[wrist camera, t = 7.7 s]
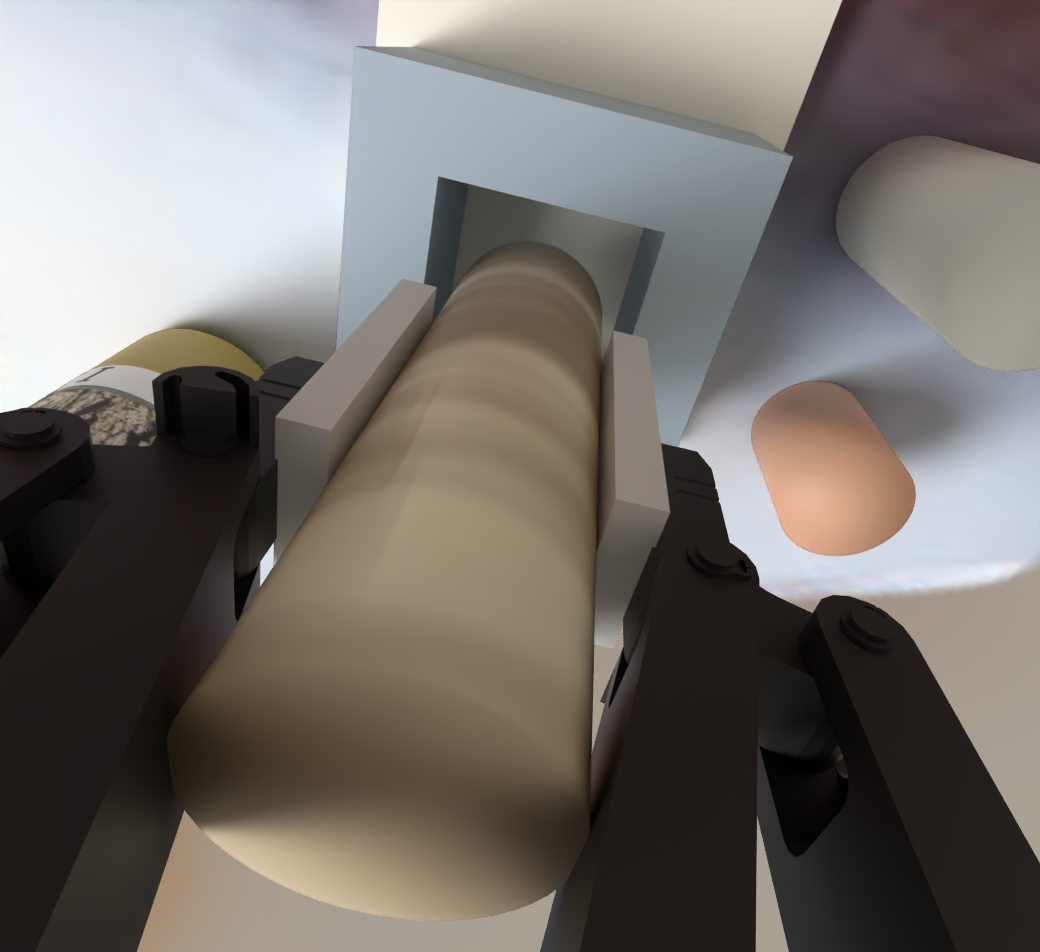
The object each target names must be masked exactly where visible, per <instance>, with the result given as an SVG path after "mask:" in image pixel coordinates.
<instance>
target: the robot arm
mask: <svg viewBox="0 0 1040 952" xmlns="http://www.w3.org/2000/svg"><path fill="white" fill-rule="evenodd" d="M436 289H437V287H434V286H430V285H426V284H422V283H418V282H414V281H410V280H406V279H402V280H401V281H400V282H399V283H398V284H397V285H396V286H395V287H394V289H393V290H392V291H391V292H390V293H389V294H388V295H387V296H386V297H385V298H384V299H383V300H382V302H381V303H380V304H379V305H378V306H377V307H376V308H375V309H374V310H373V311H372V312H371V314H370V315H369V316H368V317H367V318H366V319H365V320H364V321H363V322H362V323H361V324H360V325H359V327H358V328H357V329H356V330H355V331H354V332H353V333H352V334H351V335H350V336H349V337H348V339H347V340H346V341H345V342H344V343H343V344H342V345H341V346H340V347H339V348H338V349H337V350H336V352H335V353H334V354H333V355H332V356H331V357H330V358H329V359H328V360H327V361H326V362H325V363H321V362H317V361H313V360H309V359H305V358H300V357H293V358H290V359H287V360H285V361H282V362H279V363H276V364H274V365H272V366H271V367H270V368H269V369H268V370H267V371H266V372H265V373H264V374H262V375H261V376H260V377H259V380H256V381H254V379H253V378H251V377H249V376H247V375H245V374H243V373H241V372H239V371H236V370H232V369H228V368H224V367H217V366H201V365H199V366H190V367H180V368H177V369H174V370H170V371H167V372H164V373H162V374H161V375H159V376H158V377H156V378H155V379H154V380H152V388H153V398H154V408H155V418H156V428H157V436H156V438H155V439H154V441H153V442H152V443H151V445H150V446H121V445H100V444H93V442H92V436H91V430H90V426H89V425H88V424H87V423H86V421H85V420H84V419H83V418H82V417H80V416H77V415H75V414H72V413H70V412H68V411H62V410H56V409H49V408H38V407H36V408H21V409H18V410H14V411H8V412H3V413H0V952H137V949H138V946H139V943H140V940H141V937H142V934H143V931H144V928H145V925H146V922H147V920H148V916H149V914H150V911H151V908H152V905H153V902H154V899H155V896H156V893H157V890H158V887H159V883H160V881H161V878H162V875H163V872H164V869H165V866H166V863H167V860H168V857H169V854H170V851H171V848H172V845H173V842H174V839H175V836H176V833H177V830H178V827H179V824H180V821H181V818H182V815H183V812H184V810H185V809H184V808H183V806H182V805H181V803H180V802H179V800H178V798H177V797H176V795H175V792H174V790H173V788H172V781H171V773H170V766H169V758H168V750H167V743H166V739H167V735H168V731H169V729H170V727H171V725H172V723H173V721H174V718H175V716H176V715H177V713H178V712H179V710H180V709H181V707H182V706H183V704H184V703H185V701H186V700H187V698H188V697H189V695H190V693H191V692H192V690H193V689H194V687H195V686H196V684H197V683H198V681H199V680H200V678H201V677H202V675H203V674H204V672H205V671H206V669H207V668H208V666H209V664H210V663H211V661H212V660H213V658H214V657H215V655H216V654H217V652H218V651H219V649H220V648H221V646H222V645H223V643H224V642H225V640H226V639H227V637H228V635H229V634H230V632H231V631H232V629H233V628H234V626H235V625H236V623H237V622H238V620H239V619H240V617H241V616H242V614H243V613H244V611H245V609H246V608H247V606H248V605H249V603H250V602H251V600H252V599H253V597H254V596H255V594H256V593H257V591H258V590H259V587H260V561H261V560H262V558H263V557H264V556H265V554H266V553H267V551H268V550H269V548H270V547H271V545H272V544H273V542H274V565H275V564H276V562H277V561H278V559H279V558H280V556H281V555H282V553H283V551H284V550H285V548H286V547H287V545H288V544H289V542H290V541H291V539H292V538H293V536H294V535H295V533H296V532H297V530H298V529H299V527H300V525H301V524H302V522H303V521H304V519H305V518H306V516H307V515H308V513H309V512H310V510H311V509H312V507H313V506H314V504H315V503H316V501H317V500H318V498H319V496H320V495H321V493H322V492H323V490H324V489H325V487H326V486H327V484H328V483H329V481H330V480H331V478H332V477H333V475H334V474H335V472H336V471H337V469H338V467H339V466H340V464H341V463H342V461H343V460H344V458H345V457H346V455H347V454H348V452H349V451H350V449H351V448H352V446H353V445H354V443H355V441H356V440H357V438H358V437H359V435H360V434H361V432H362V431H363V429H364V428H365V426H366V425H367V423H368V422H369V420H370V419H371V417H372V416H373V414H374V412H375V411H376V409H377V408H378V406H379V405H380V403H381V402H382V400H383V399H384V397H385V396H386V394H387V393H388V391H389V390H390V388H391V387H392V385H393V383H394V382H395V380H396V379H397V377H398V376H399V374H400V373H401V371H402V370H403V368H404V367H405V365H406V364H407V362H408V361H409V359H410V358H411V356H412V354H413V353H414V351H415V350H416V348H417V347H418V345H419V344H420V342H421V341H422V339H423V338H424V336H425V335H426V333H427V332H428V330H429V328H430V327H431V324H432V317H433V310H434V303H435V296H436ZM715 486H716V485H715V481H714V477H713V473H712V469H711V468H710V467H709V465H708V464H707V463H706V462H705V461H704V459H703V458H702V457H701V456H700V455H699V453H698V452H696V451H692V450H688V449H684V448H679V447H675V446H671V445H667V444H663V443H661V440H660V432H659V425H658V417H657V410H656V402H655V395H654V387H653V380H652V372H651V365H650V357H649V349H648V342H647V339H646V338H642V337H638V336H634V335H630V334H626V333H622V332H618V331H613V333H612V336H611V340H610V343H609V346H608V350H607V353H606V356H605V360H604V363H603V366H602V369H601V391H600V432H599V472H598V512H597V552H596V592H595V633H594V644H595V645H599V646H603V647H608V648H612V649H613V648H614V646H615V643H616V641H617V638H618V636H619V634H620V631H621V629H622V626H623V635H624V636H623V637H624V638H623V639H624V647H623V650H622V652H621V654H620V656H619V659H618V661H617V663H616V666H615V668H614V670H613V673H612V675H611V677H610V680H609V682H608V685H607V687H606V689H605V692H604V694H603V696H602V698H601V701H600V702H602V703H605V706H604V709H603V713H602V717H601V721H600V725H599V728H598V732H597V736H596V740H595V744H594V748H593V751H592V755H591V794H590V830H589V837H588V839H587V841H586V843H585V845H584V847H583V849H582V851H581V853H580V855H579V857H578V859H577V861H576V863H575V865H574V867H573V869H572V871H571V873H570V875H569V877H568V879H567V880H566V882H565V883H564V884H563V885H561V886H560V887H559V888H557V889H556V893H555V897H554V901H553V904H552V908H551V912H550V916H549V920H548V924H547V928H546V931H545V935H544V939H543V943H542V946H541V950H540V952H755V951H756V950H755V949H756V945H755V944H756V941H755V940H756V853H757V852H756V851H757V817H758V820H759V825H760V829H761V834H762V838H763V842H764V847H765V851H766V855H767V859H768V864H769V868H770V872H771V877H772V881H773V885H774V889H775V894H776V898H777V902H778V907H779V911H780V915H781V919H782V924H783V928H784V932H785V937H786V941H787V945H788V949H789V952H1040V863H1039V861H1038V859H1037V857H1036V856H1035V854H1034V852H1033V850H1032V848H1031V847H1030V845H1029V843H1028V841H1027V840H1026V838H1025V837H1024V834H1023V833H1022V831H1021V829H1020V827H1019V826H1018V824H1017V822H1016V821H1015V819H1014V817H1013V815H1012V813H1011V811H1010V810H1009V808H1008V806H1007V804H1006V803H1005V801H1004V799H1003V797H1002V796H1001V794H1000V792H999V790H998V788H997V787H996V785H995V783H994V781H993V780H992V778H991V776H990V774H989V772H988V771H987V769H986V767H985V766H984V764H983V762H982V760H981V758H980V757H979V755H978V753H977V751H976V750H975V748H974V746H973V744H972V742H971V741H970V739H969V737H968V735H967V734H966V732H965V730H964V728H963V727H962V725H961V723H960V721H959V719H958V718H957V716H956V714H955V712H954V711H953V709H952V707H951V705H950V704H949V702H948V700H947V698H946V697H945V695H944V693H943V691H942V689H941V688H940V686H939V684H938V682H937V681H936V679H935V677H934V675H933V674H932V672H931V670H930V668H929V666H928V665H927V663H926V661H925V659H924V658H923V656H922V654H921V652H920V651H919V649H918V647H917V645H916V643H915V642H914V640H913V639H912V638H911V636H910V635H909V634H908V633H907V631H906V630H905V629H904V627H903V626H902V625H900V624H899V623H898V622H897V621H896V620H894V619H893V618H892V617H891V616H889V614H888V613H886V612H885V611H883V610H882V609H880V608H877V607H876V606H874V605H872V604H870V603H868V602H865V601H862V600H859V599H856V598H853V597H850V596H839V595H832V596H829V597H826V598H823V599H821V601H820V602H819V604H818V605H817V607H816V609H815V610H814V612H813V613H811V612H809V611H806V610H805V609H802V608H800V607H798V606H796V605H794V604H792V603H789V602H787V601H785V600H783V599H781V598H779V597H777V596H775V595H773V594H771V593H769V592H767V591H766V590H764V589H763V588H761V587H760V586H759V576H758V572H757V569H756V566H755V565H754V564H753V563H752V561H751V560H750V559H749V557H748V556H747V555H746V554H745V553H743V552H742V551H741V550H740V549H738V548H737V547H736V546H734V545H733V544H731V543H730V542H729V538H728V534H727V530H726V525H725V521H724V517H723V513H722V509H721V505H720V503H718V501H719V497H718V493H717V489H715Z"/></svg>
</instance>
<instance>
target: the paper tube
mask: <svg viewBox="0 0 1040 952" xmlns="http://www.w3.org/2000/svg"><path fill="white" fill-rule="evenodd" d="M199 365H201V366H217V367H224V368H228V369H232V370H236V371H239V372H241V373H243V374H245V375H247V376H249V377H251V378H253V379H254V381H256V380H259V377H260V376H261V375H262V374H264V373H265V372H264V371H263V370H262V368H261V367H260V366H259V365H258V364H257V363H256V362H255V361H254V360H253V359H252V358H251V357H249V356H248V355H247V354H246V353H244V352H243V351H242V350H240V349H239V348H237V347H236V346H234V345H233V344H231V343H229V342H227V341H225V340H223V339H221V338H218V337H216V336H213V335H210V334H207V333H204V332H200V331H196V330H190V329H167V330H162V331H158V332H155V333H152V334H149V335H147V336H145V337H143V338H141V339H139V340H138V341H136V342H135V343H133V344H131V345H130V346H128V347H126V348H125V349H123V350H122V351H120V352H118V353H117V354H115V355H113V356H112V357H110V358H109V359H107V360H105V361H104V362H102V363H101V364H99V365H97V366H96V367H94V368H92V369H91V370H89V371H87V372H85V373H83V374H81V375H80V376H78V377H76V378H75V379H73V380H71V381H70V382H68V383H67V384H65V385H63V386H62V387H60V388H58V389H57V390H55V391H54V392H52V393H50V394H49V395H47V396H46V397H44V398H42V399H41V400H39V401H37V402H36V403H34V404H32V405H31V406H29V407H28V408H36V407H38V408H49V409H56V410H62V411H68V412H70V413H72V414H75V415H77V416H80V417H82V418H83V419H84V420H85V421H86V423H87V424H88V425H89V426H90V430H91V436H92V442H93V444H100V445H121V446H150V445H151V443H152V442H153V441H154V439H155V438H156V436H157V428H156V418H155V408H154V398H153V388H152V380H154V379H155V378H156V377H158V376H159V375H161V374H162V373H164V372H167V371H170V370H174V369H177V368H180V367H190V366H199Z"/></svg>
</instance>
